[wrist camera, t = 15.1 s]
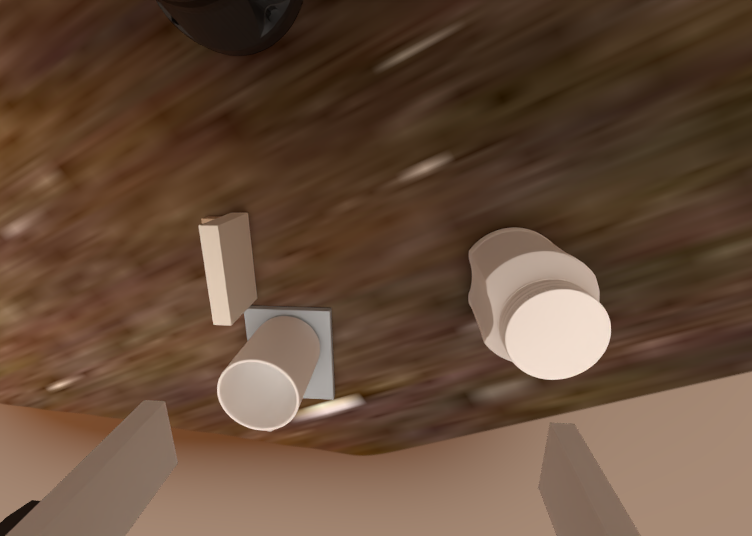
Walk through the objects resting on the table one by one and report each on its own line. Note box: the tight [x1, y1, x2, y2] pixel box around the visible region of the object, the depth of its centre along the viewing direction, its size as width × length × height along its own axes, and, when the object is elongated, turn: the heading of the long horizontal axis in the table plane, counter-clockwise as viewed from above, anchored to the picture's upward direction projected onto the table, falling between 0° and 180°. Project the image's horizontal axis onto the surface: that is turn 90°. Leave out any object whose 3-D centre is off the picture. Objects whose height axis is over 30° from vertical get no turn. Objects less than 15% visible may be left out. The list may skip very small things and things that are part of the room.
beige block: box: [198, 212, 257, 325], centre depth 43 cm, size 11×5×8 cm, turn 0°
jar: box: [468, 227, 611, 380], centre depth 37 cm, size 12×10×15 cm
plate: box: [244, 306, 335, 400], centre depth 50 cm, size 13×11×1 cm
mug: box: [217, 316, 320, 431], centre depth 44 cm, size 9×12×11 cm
